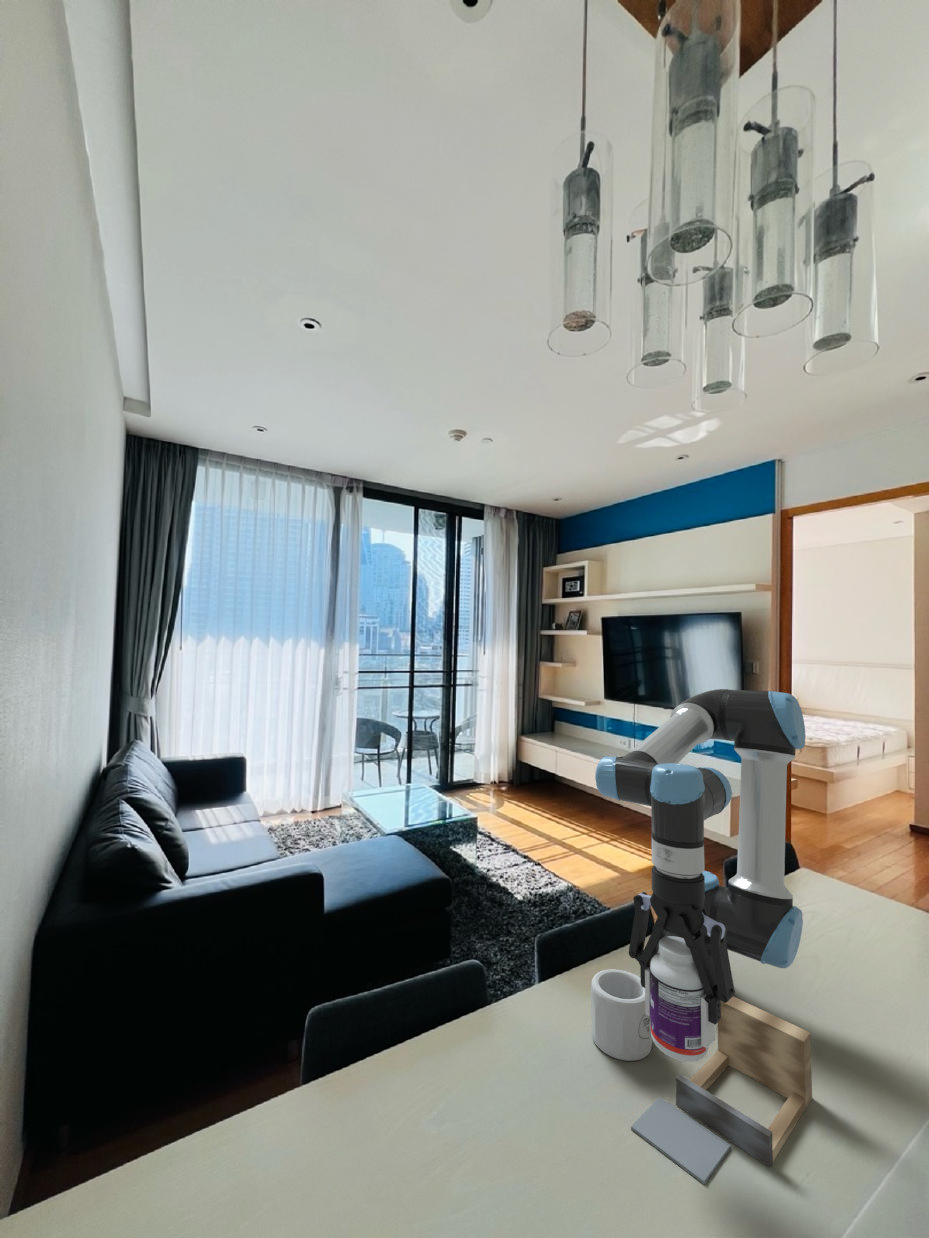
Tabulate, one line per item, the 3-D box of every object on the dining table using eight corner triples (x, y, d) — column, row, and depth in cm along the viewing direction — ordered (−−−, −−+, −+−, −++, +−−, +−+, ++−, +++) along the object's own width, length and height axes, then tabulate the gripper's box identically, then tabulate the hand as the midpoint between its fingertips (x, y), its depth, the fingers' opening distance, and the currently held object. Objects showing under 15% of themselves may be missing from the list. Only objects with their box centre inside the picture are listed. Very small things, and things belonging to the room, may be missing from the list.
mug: (635, 1072, 91) (635, 1011, 91) (580, 1040, 98) (580, 983, 99) (668, 1033, 100) (667, 978, 101) (615, 1007, 108) (615, 955, 109)
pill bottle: (661, 1020, 85) (660, 926, 86) (715, 1043, 80) (713, 943, 81) (642, 1047, 79) (641, 946, 80) (699, 1075, 74) (698, 966, 75)
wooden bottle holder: (676, 1104, 84) (675, 1037, 85) (725, 1050, 96) (725, 992, 97) (769, 1167, 74) (768, 1090, 75) (812, 1097, 86) (810, 1032, 87)
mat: (630, 1128, 80) (630, 1126, 80) (659, 1099, 85) (659, 1096, 85) (704, 1184, 71) (704, 1181, 72) (730, 1147, 77) (730, 1144, 77)
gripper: (604, 854, 87) (604, 1001, 85) (738, 900, 71) (742, 1081, 69) (630, 845, 92) (630, 983, 90) (760, 885, 76) (764, 1054, 74)
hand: (678, 1026), depth 80 cm, fingers closed on pill bottle, 8 cm apart
